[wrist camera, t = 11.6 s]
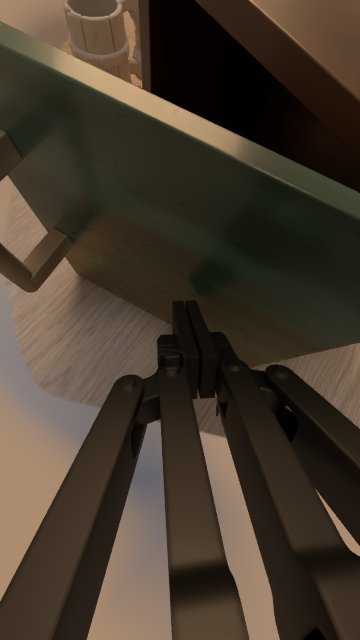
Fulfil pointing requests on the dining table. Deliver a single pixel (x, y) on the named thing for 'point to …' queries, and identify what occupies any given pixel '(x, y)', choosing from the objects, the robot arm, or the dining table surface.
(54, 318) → the dining table surface
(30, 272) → the door
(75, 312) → the dining table surface
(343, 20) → the cupboard
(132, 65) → the mug
